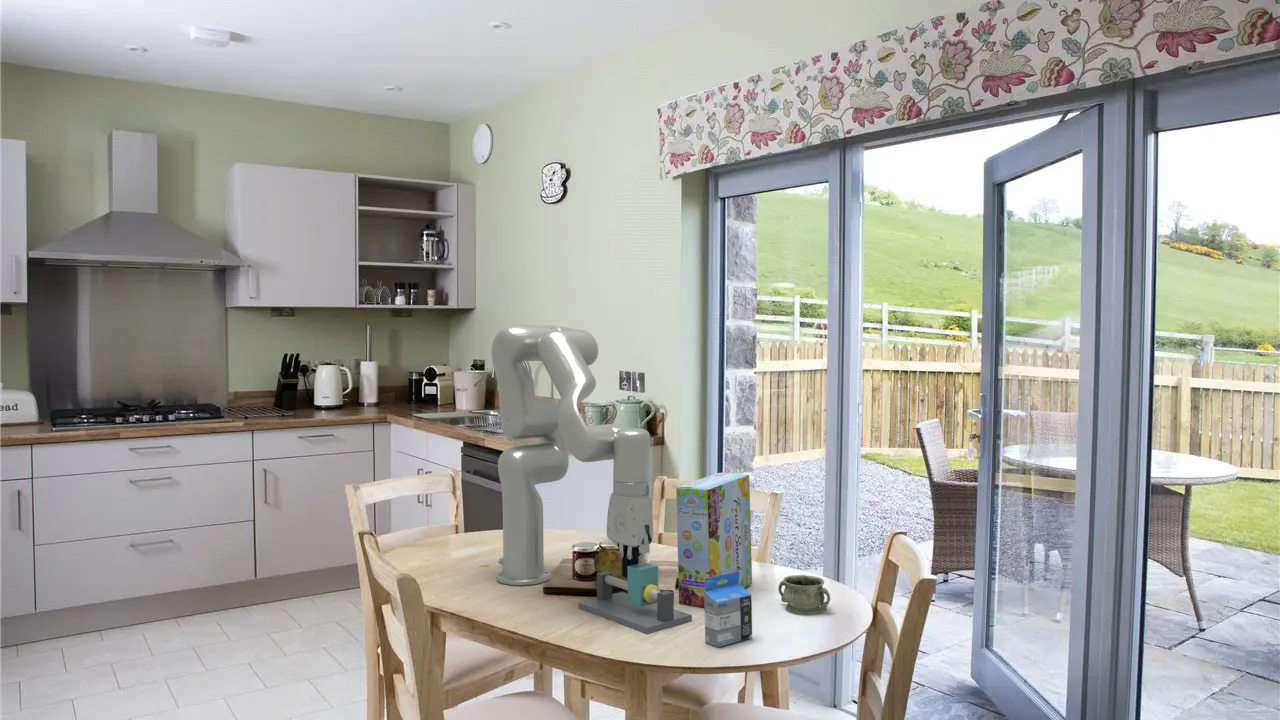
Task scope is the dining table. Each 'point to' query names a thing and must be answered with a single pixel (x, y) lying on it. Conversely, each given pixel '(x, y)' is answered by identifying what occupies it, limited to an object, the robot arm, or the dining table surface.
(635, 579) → the teal sliding cube
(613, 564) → the potato
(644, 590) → the slider rail stand
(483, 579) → the dining table surface
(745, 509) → the snack box
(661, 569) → the dining table surface
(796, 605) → the vessel
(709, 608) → the label tape box
